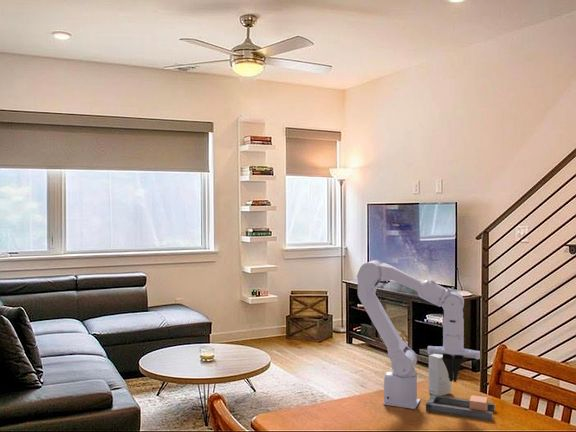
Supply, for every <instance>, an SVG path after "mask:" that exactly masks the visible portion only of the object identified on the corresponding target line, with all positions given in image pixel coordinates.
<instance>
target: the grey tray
mask: <svg viewBox="0 0 576 432" xmlns="http://www.w3.org/2000/svg"><path fill="white" fill-rule="evenodd" d="M469 401H470V399H466V398H459V397H454V396H446V395H441V396H439V395H433V394H431V395H430V397H429V398H428V399H427V401H426V403H425V411H426V412H431V413H437V414H442V415H443V414H445V415H449V416H450V415H451V416H458V417H463V418H464V417H465V418H469V419H477V420H483V421H490V422H493V417H494V416H493V415H494V414H493V413H494V412H495V411H496V410H495V409H496V403H494V402H490V401H489V402H488V411H483V410H476V409H469Z"/></svg>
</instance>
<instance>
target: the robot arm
mask: <svg viewBox="0 0 576 432" xmlns="http://www.w3.org/2000/svg"><path fill="white" fill-rule="evenodd" d="M356 278H357V297H358V299H359V301H360V303H361V305H362V306H363V308H364V310H365V311H366V313H367V315H368V317H369V319H370V320H371V323H372V324H373V326H374V327H375V329H376V330H377V333H378V335H379V337H381V340H382V341H383V344H384V345H385V347H386V349H387V355H388V358H389V360H390V362H391V364H390V365H391V369H392V371H386V373H385V374H384V379H383V405H384V406H385V405H386V406H393V407H398V408H404V409H405V408H406V409H410V410H416V408H417V407H418V406H419V403H420V402H421V398H418V397H417V396H418V373H417V371H416V369H415V366H416V365H417V362H418V357H417V356H418V355H417V353H416V352H415V351H414V350H413V349H411V348H410V347H409V346H408V344H407V343H406V342H405V341H404V340H403V339H402V338H401V336H400V334H399V332H398V330H397V329H396V327H395V325H394V323H393V322H392V320H391V318H390V317H389V315H388V313H387V312H386V310H385V308H384V306H383V305H382V303H381V301H380V299H379V297H378V296H377V294H376V292H377V289H378V285H379V283H380V282H385V281H386V282H387V281H393V282H395V283H397V284H399V285H402V286H403V287H406V288H408V289H412V290H413V291H415V292H417V295H418V297H419V298H421V299H422V300H424V301H427V302H428V303H431V304H433V305H435V306H437V307H438V308H440V307H442V309H443V318H442V319H443V320H442V325H443V327H442V336H443V337H442V345H441V346H436V345H435V346H433V345H428V346H427V349H426V350H427V353H426V354H427V355H432V354H440V355H443V357H442V360H443V362H444V364H445V366H446V368H447V371H448V375H449V380H450V381H451V382H453V383H456V382H457V381H458V374H459V371H460V368H461V366H462V363H463V361H464V359H465V358H469V359H475V360H480V359H481V351H480V350H474V349H469V348H464V347H465V346H464V344H465V343H464V342H465V339H464V337H465V336H464V334H465V332H464V330H465V326H464V324H465V319H464V310H463V309H464V308H465V307H464V306H465V299H464V297H463V295H462V294H461V293H459V292H458V291H456V290H452V288H450V287H447V288H445V287H444V286H442V285H440V284H438V283H437V281H436V280H434V279H431V280H429V279H425V280H422V281H421V280H420V279H418V278H417V277H414V276H412V275H410V274H408V273H406V272H404V271H402V270H400V269H399V268H397V267H395V266H393V265H391V264H388V263H386V262H382V261H380V260H379V259H372V260H370V261H368V262H365V263H363V264H362V265H360V267H359V270H358V272H357V275H356Z"/></svg>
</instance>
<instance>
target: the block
mask: <svg viewBox="0 0 576 432" xmlns="http://www.w3.org/2000/svg"><path fill="white" fill-rule="evenodd" d="M488 399H489V398H488V396H483V395H480V396H479V395H473V394H471V396H470V399H469V400H470V401H469V409H476V410H483V411H488Z"/></svg>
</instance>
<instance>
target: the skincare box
mask: <svg viewBox="0 0 576 432" xmlns="http://www.w3.org/2000/svg"><path fill="white" fill-rule="evenodd" d="M442 357H443V355H440V354H428V394H431V395H439V396H446V395H449V394H451V393H452V381H450V380H449V375H448V371H447V368H446V366H445V364H444V362H443V360H442Z"/></svg>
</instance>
